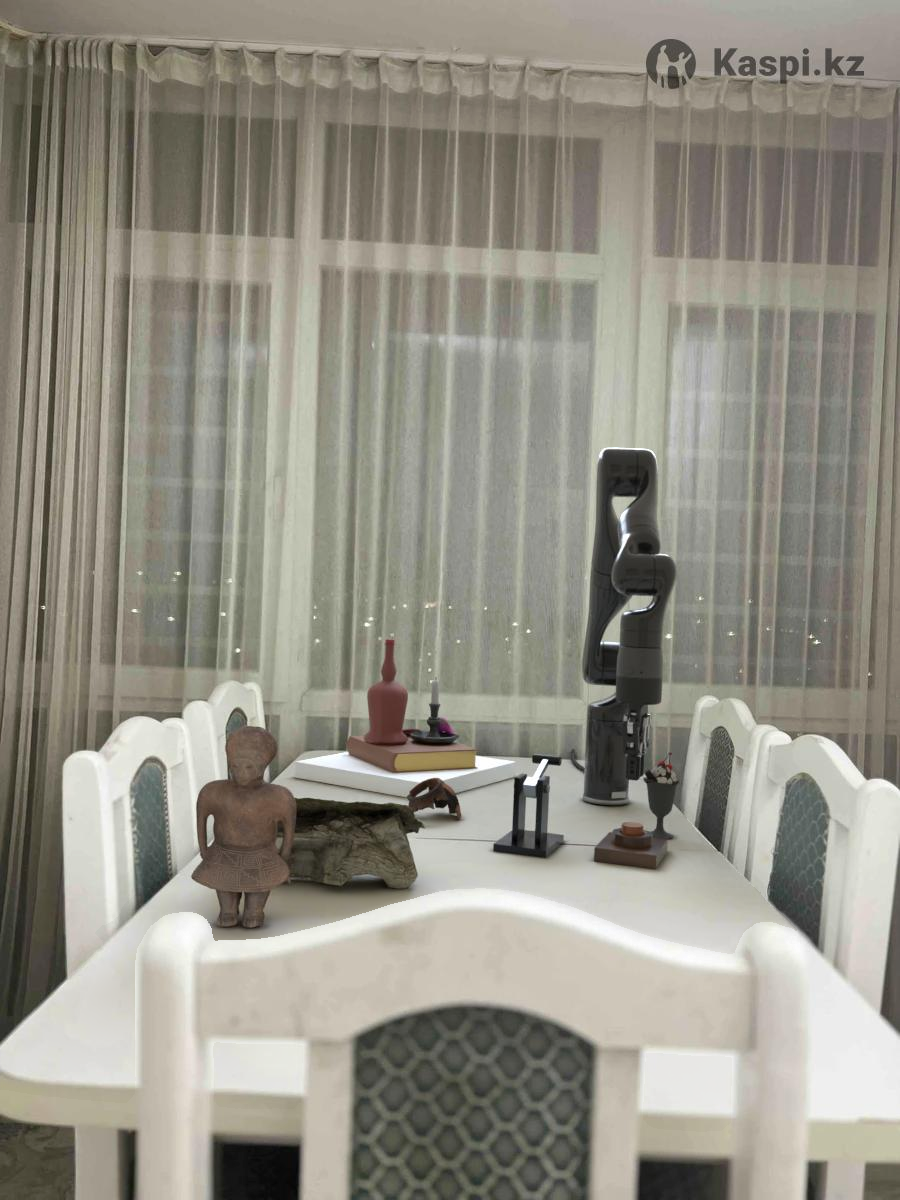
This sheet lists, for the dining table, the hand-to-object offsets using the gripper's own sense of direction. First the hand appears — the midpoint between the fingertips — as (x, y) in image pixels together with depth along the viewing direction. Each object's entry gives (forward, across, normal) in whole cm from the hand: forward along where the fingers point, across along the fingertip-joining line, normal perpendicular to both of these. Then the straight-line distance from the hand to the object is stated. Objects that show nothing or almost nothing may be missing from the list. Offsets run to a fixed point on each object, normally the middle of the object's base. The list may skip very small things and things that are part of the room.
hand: (634, 777), depth 174 cm
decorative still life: (+13, +46, +58) cm, 75 cm away
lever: (+3, +3, +17) cm, 17 cm away
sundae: (+13, +17, -2) cm, 22 cm away
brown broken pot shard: (+13, +11, +39) cm, 43 cm away
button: (+10, 0, 0) cm, 10 cm away
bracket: (+13, -2, +17) cm, 22 cm away
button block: (+13, 0, 0) cm, 13 cm away
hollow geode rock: (+13, -36, +38) cm, 54 cm away
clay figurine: (+13, -58, +39) cm, 71 cm away
